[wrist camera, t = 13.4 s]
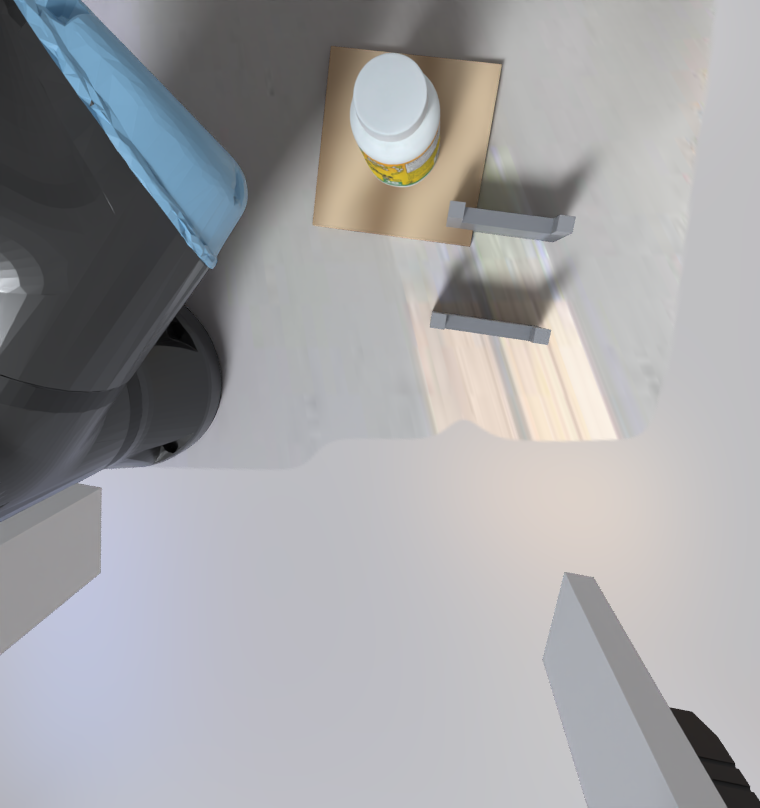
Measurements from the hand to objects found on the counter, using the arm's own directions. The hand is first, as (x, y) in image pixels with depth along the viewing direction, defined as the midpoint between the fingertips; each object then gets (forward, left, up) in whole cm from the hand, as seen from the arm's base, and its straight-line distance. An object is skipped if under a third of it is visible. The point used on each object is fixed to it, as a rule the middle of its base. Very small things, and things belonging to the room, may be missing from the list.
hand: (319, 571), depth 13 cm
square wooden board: (-2, +18, -27) cm, 32 cm away
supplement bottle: (-2, +18, -26) cm, 32 cm away
